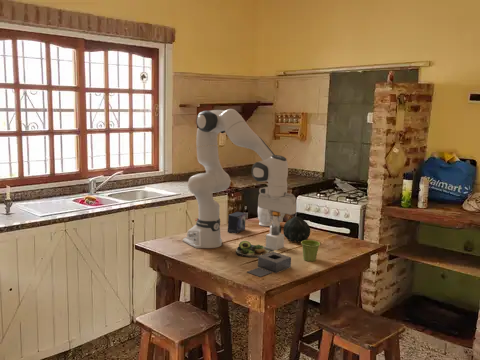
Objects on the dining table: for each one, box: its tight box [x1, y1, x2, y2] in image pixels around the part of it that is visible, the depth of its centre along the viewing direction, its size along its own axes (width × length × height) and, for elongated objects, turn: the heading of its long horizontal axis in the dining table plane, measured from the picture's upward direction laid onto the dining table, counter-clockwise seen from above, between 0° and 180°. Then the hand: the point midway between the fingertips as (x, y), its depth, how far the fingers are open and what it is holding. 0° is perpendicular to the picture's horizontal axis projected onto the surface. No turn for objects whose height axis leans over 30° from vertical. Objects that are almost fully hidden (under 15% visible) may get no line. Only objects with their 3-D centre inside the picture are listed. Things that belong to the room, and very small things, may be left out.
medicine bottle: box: [265, 225, 285, 251], centre depth 254 cm, size 7×7×12 cm
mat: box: [246, 267, 273, 278], centre depth 218 cm, size 8×8×1 cm
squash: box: [282, 216, 311, 243], centre depth 268 cm, size 14×15×15 cm
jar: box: [257, 205, 272, 227], centre depth 299 cm, size 11×10×15 cm
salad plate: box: [235, 240, 275, 258], centre depth 246 cm, size 19×18×5 cm
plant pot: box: [300, 239, 321, 262], centre depth 237 cm, size 9×9×9 cm
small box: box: [227, 211, 247, 234], centre depth 283 cm, size 11×6×10 cm, turn 150°
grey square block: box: [257, 251, 292, 274], centre depth 225 cm, size 11×11×5 cm
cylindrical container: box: [272, 211, 281, 235], centre depth 222 cm, size 4×4×11 cm
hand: (276, 220), depth 222 cm, fingers closed on cylindrical container, 4 cm apart
